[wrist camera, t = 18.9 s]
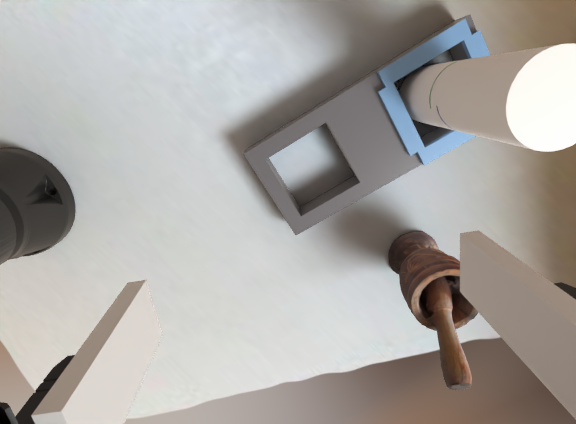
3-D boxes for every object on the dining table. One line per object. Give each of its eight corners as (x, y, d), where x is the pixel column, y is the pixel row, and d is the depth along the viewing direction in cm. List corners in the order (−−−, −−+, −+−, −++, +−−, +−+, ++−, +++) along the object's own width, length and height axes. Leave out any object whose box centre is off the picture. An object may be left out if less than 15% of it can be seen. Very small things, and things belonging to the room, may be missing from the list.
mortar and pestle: (447, 288, 59) (525, 383, 40) (393, 302, 60) (445, 402, 41) (435, 221, 56) (514, 291, 37) (377, 237, 56) (426, 314, 37)
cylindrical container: (411, 131, 51) (524, 169, 28) (390, 83, 49) (491, 78, 26) (461, 105, 50) (621, 120, 27) (441, 54, 48) (596, 22, 25)
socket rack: (294, 225, 55) (295, 237, 51) (246, 149, 52) (242, 155, 47) (493, 112, 51) (513, 115, 46) (454, 20, 47) (473, 13, 43)
